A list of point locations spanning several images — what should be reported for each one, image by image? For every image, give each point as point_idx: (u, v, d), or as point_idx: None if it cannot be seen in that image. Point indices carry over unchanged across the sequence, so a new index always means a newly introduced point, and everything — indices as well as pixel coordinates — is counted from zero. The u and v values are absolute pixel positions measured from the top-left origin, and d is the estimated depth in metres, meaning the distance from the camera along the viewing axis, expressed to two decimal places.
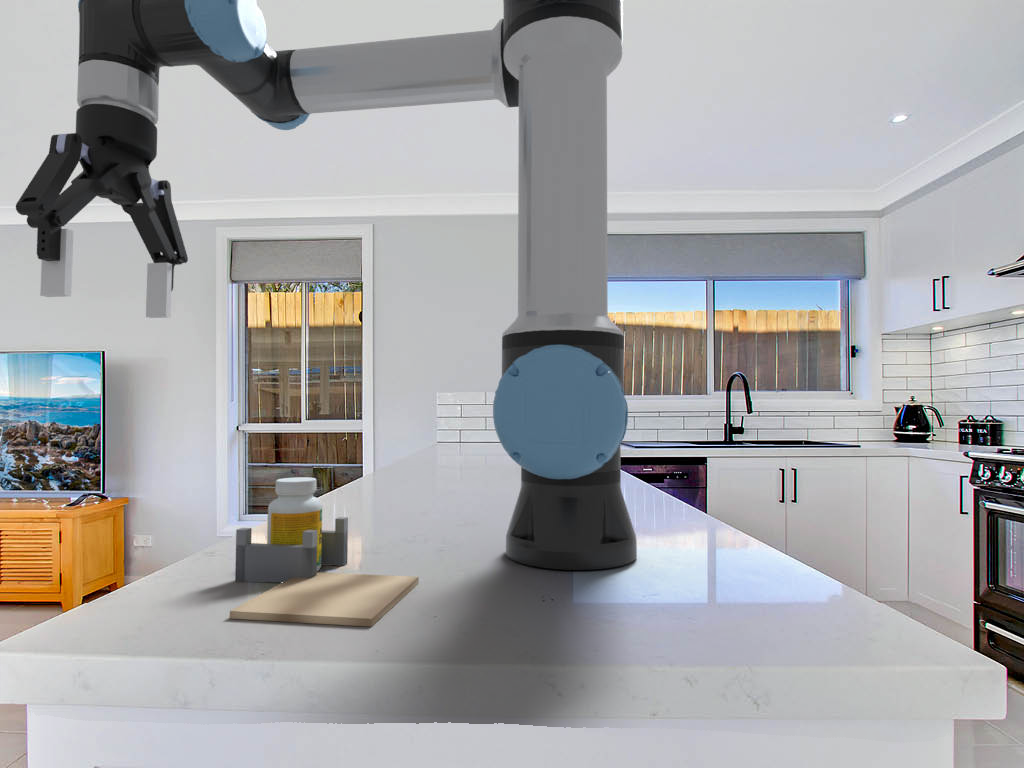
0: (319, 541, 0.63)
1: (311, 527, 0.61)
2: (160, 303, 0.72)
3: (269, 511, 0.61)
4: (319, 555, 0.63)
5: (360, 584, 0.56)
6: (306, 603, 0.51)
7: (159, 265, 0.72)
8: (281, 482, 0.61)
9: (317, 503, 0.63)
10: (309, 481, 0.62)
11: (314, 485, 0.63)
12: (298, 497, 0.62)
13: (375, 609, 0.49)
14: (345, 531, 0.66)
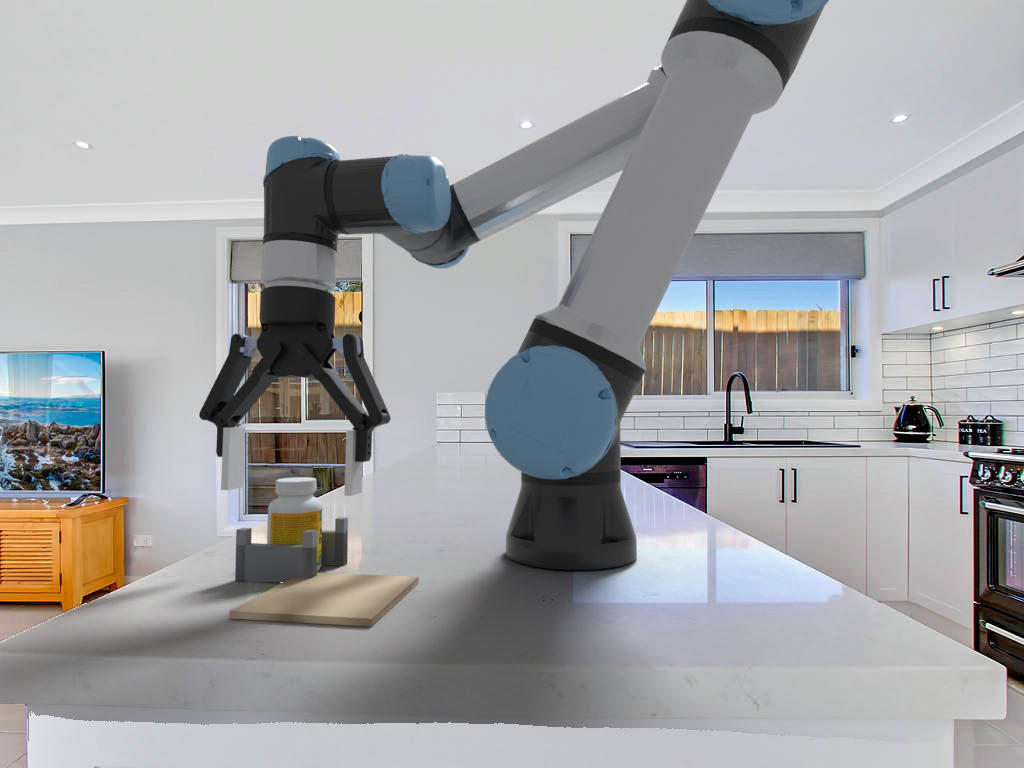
0: (319, 541, 0.63)
1: (311, 527, 0.61)
2: None
3: (269, 511, 0.61)
4: (319, 555, 0.63)
5: (360, 584, 0.56)
6: (306, 603, 0.51)
7: None
8: (281, 482, 0.61)
9: (317, 503, 0.63)
10: (309, 481, 0.62)
11: (314, 485, 0.63)
12: (298, 497, 0.62)
13: (375, 609, 0.49)
14: (345, 531, 0.66)
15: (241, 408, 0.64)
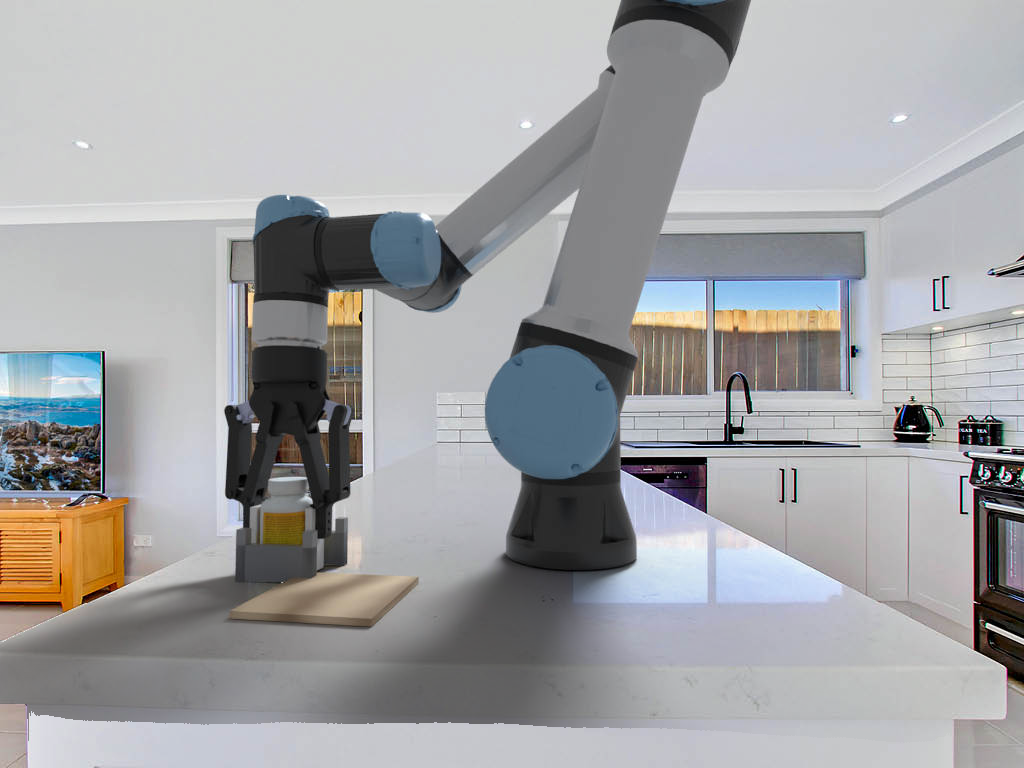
0: None
1: (304, 526, 0.62)
2: None
3: (261, 510, 0.61)
4: None
5: (360, 584, 0.56)
6: (306, 603, 0.51)
7: None
8: (273, 481, 0.62)
9: (309, 502, 0.63)
10: (301, 480, 0.62)
11: (306, 484, 0.63)
12: (290, 496, 0.62)
13: (375, 609, 0.49)
14: (345, 531, 0.66)
15: (261, 479, 0.63)
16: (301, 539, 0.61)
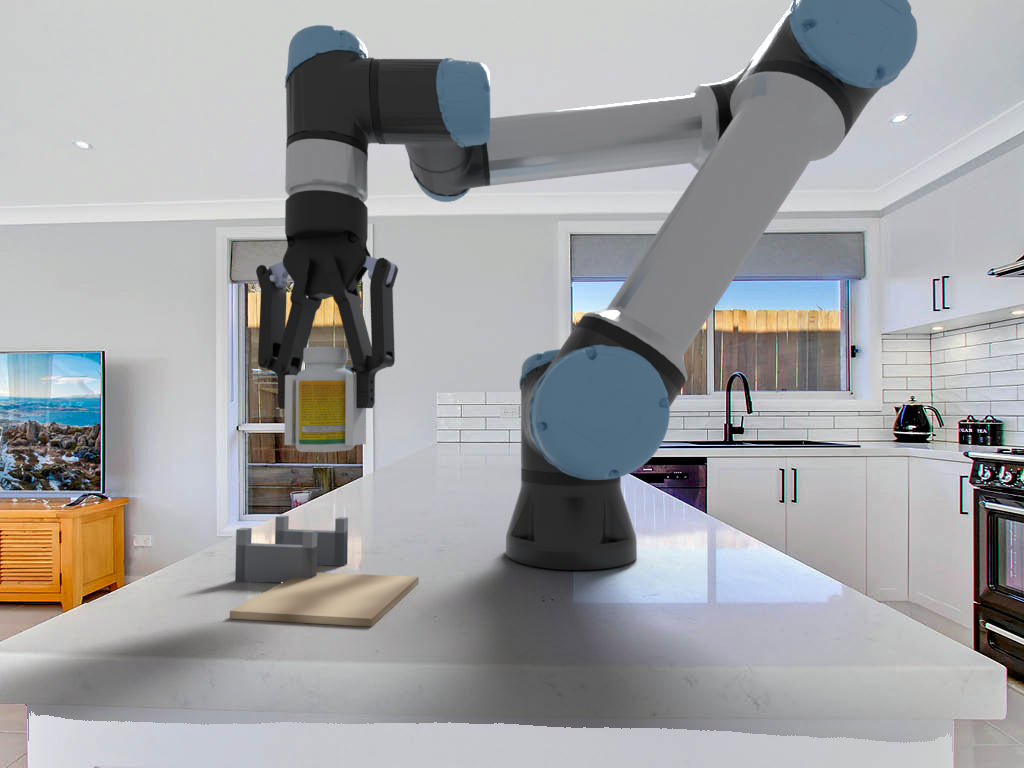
0: None
1: (343, 397, 0.55)
2: None
3: (297, 380, 0.55)
4: None
5: (360, 584, 0.56)
6: (306, 603, 0.51)
7: None
8: (309, 348, 0.55)
9: (349, 373, 0.56)
10: (340, 348, 0.56)
11: (345, 354, 0.57)
12: (328, 364, 0.55)
13: (375, 609, 0.49)
14: (345, 531, 0.66)
15: (297, 346, 0.57)
16: (341, 412, 0.55)
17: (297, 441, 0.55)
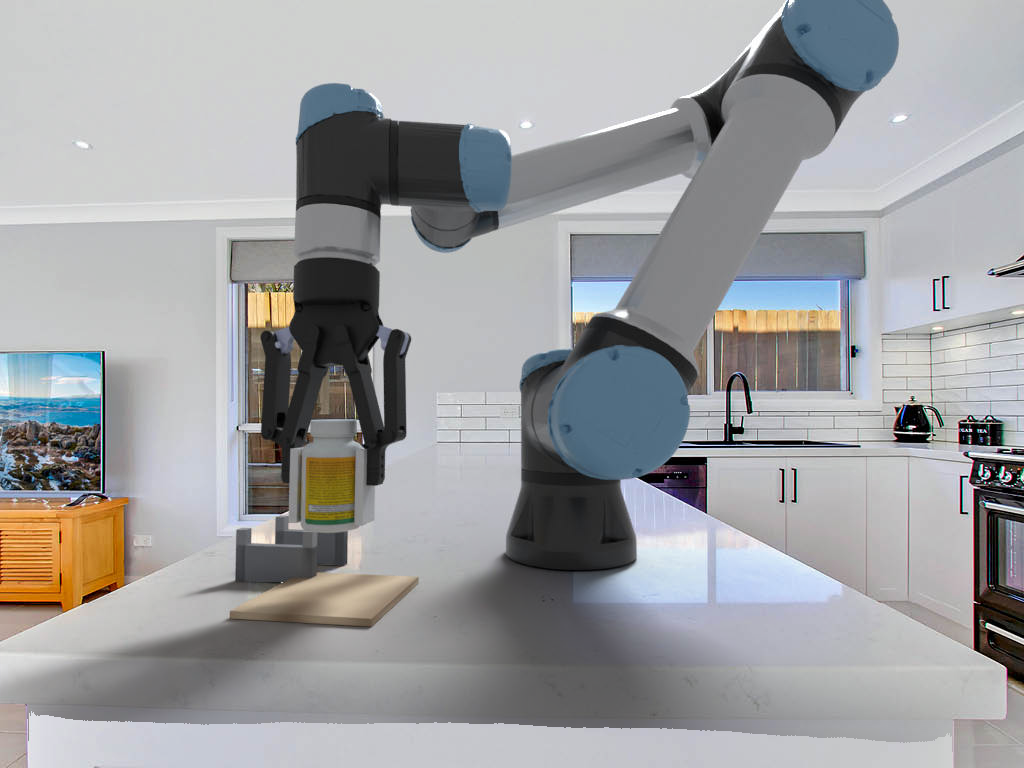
0: None
1: (353, 474, 0.53)
2: None
3: (303, 455, 0.52)
4: None
5: (360, 584, 0.56)
6: (306, 603, 0.51)
7: None
8: (317, 422, 0.52)
9: (358, 447, 0.54)
10: (349, 421, 0.53)
11: (355, 427, 0.54)
12: (337, 439, 0.53)
13: (375, 609, 0.49)
14: (345, 531, 0.66)
15: (303, 417, 0.54)
16: (351, 489, 0.52)
17: (303, 520, 0.52)
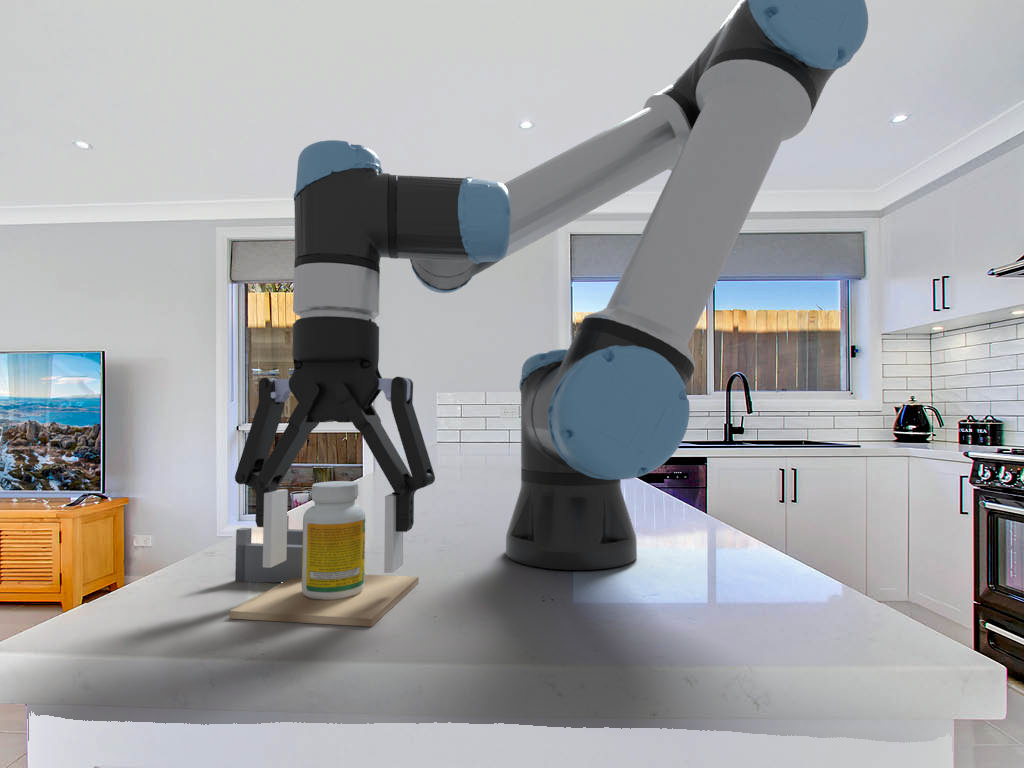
0: (362, 556, 0.54)
1: (354, 540, 0.52)
2: None
3: (305, 521, 0.52)
4: (362, 572, 0.54)
5: None
6: (306, 603, 0.51)
7: None
8: (319, 487, 0.52)
9: (360, 511, 0.53)
10: (351, 486, 0.53)
11: (356, 490, 0.54)
12: (338, 504, 0.53)
13: (375, 609, 0.49)
14: None
15: (282, 466, 0.54)
16: (352, 555, 0.52)
17: (304, 586, 0.52)
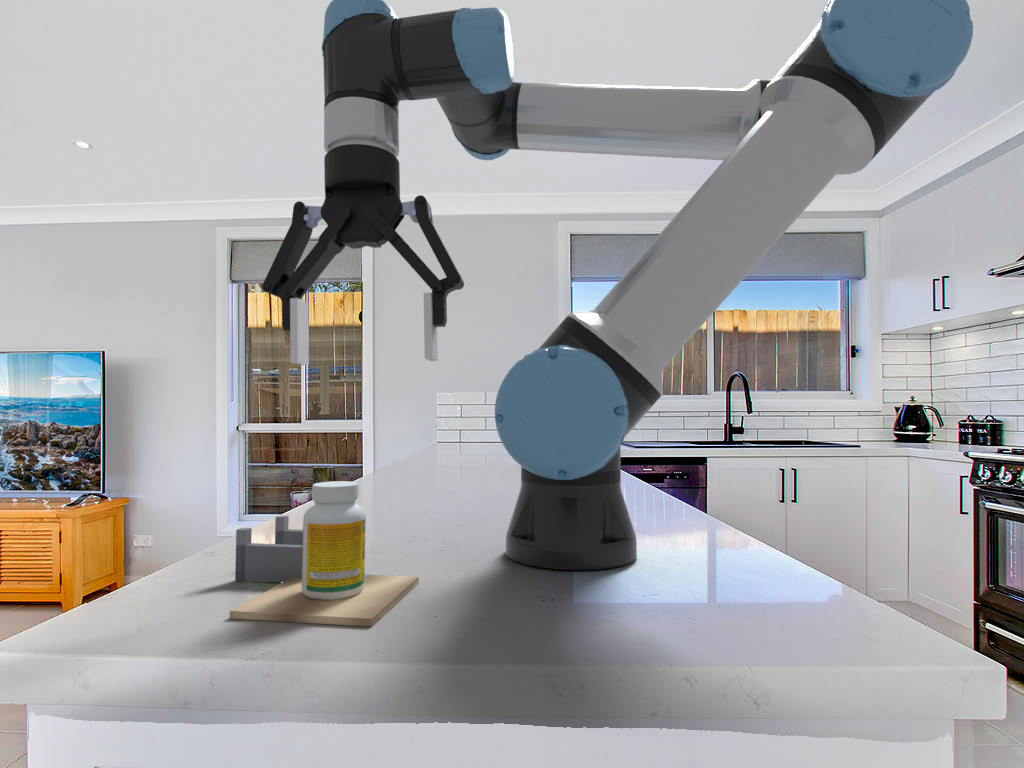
0: (362, 556, 0.54)
1: (354, 540, 0.52)
2: None
3: (305, 521, 0.52)
4: (362, 572, 0.54)
5: None
6: (306, 603, 0.51)
7: None
8: (319, 487, 0.52)
9: (360, 511, 0.53)
10: (351, 486, 0.53)
11: (357, 491, 0.54)
12: (339, 505, 0.53)
13: (375, 609, 0.49)
14: None
15: (307, 279, 0.62)
16: (352, 555, 0.52)
17: (304, 586, 0.52)
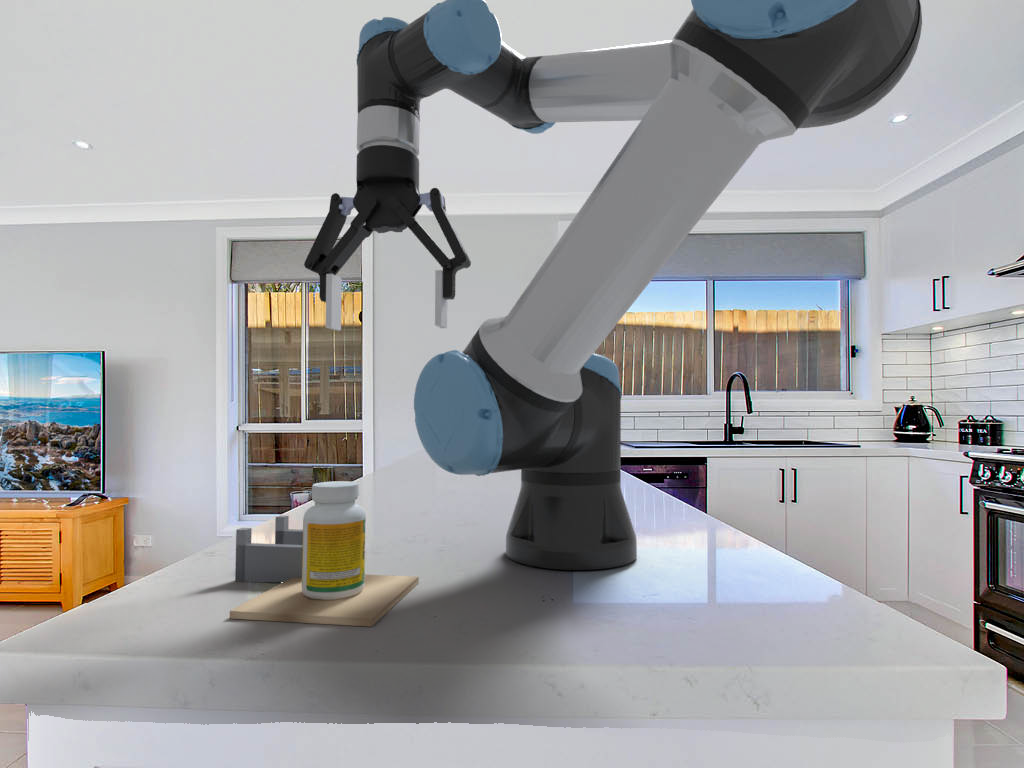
0: (362, 556, 0.54)
1: (354, 540, 0.52)
2: None
3: (305, 521, 0.52)
4: (362, 572, 0.54)
5: None
6: (306, 603, 0.51)
7: None
8: (319, 487, 0.52)
9: (360, 511, 0.53)
10: (351, 486, 0.53)
11: (356, 491, 0.54)
12: (339, 505, 0.53)
13: (375, 609, 0.49)
14: None
15: (340, 258, 0.74)
16: (352, 555, 0.52)
17: (304, 586, 0.52)
